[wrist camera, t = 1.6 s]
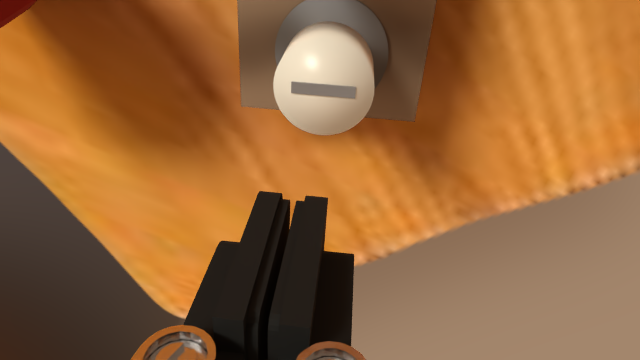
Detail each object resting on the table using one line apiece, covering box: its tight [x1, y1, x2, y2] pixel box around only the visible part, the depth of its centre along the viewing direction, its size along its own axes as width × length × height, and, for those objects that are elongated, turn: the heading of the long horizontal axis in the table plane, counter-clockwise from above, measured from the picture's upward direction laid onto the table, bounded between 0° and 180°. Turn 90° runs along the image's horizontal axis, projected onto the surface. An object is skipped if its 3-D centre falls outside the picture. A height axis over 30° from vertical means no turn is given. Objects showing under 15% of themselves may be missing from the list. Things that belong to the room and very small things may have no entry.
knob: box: [273, 21, 374, 135], centre depth 21 cm, size 4×4×3 cm
